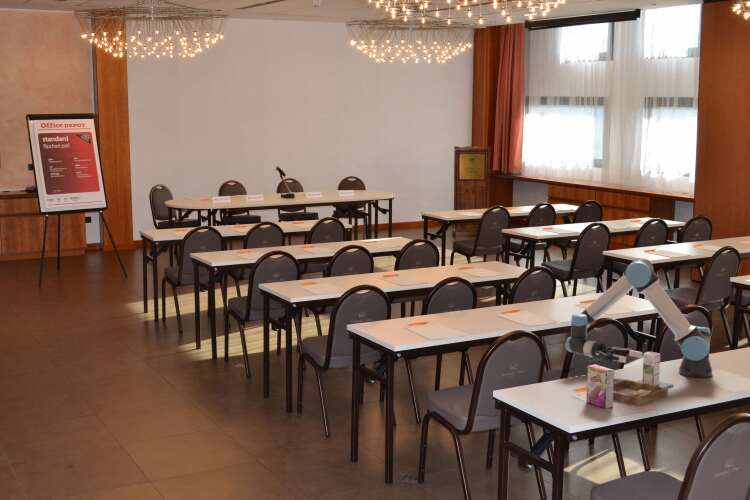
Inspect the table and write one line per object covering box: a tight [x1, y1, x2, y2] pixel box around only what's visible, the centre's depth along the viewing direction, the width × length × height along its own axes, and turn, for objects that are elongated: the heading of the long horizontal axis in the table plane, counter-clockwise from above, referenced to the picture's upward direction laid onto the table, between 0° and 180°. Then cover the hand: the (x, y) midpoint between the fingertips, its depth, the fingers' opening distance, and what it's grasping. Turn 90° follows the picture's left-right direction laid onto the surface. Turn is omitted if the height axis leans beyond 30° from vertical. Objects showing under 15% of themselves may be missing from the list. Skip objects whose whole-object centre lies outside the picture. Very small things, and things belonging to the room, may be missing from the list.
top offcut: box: [632, 389, 652, 397], centre depth 398 cm, size 5×10×1 cm, turn 144°
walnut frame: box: [613, 378, 669, 407], centre depth 402 cm, size 22×23×4 cm
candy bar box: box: [585, 364, 615, 410], centre depth 388 cm, size 11×5×16 cm, turn 33°
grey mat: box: [637, 378, 674, 389], centre depth 418 cm, size 14×14×1 cm
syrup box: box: [642, 351, 661, 386], centre depth 417 cm, size 6×6×14 cm
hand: (633, 357), depth 424 cm, fingers open, 13 cm apart
